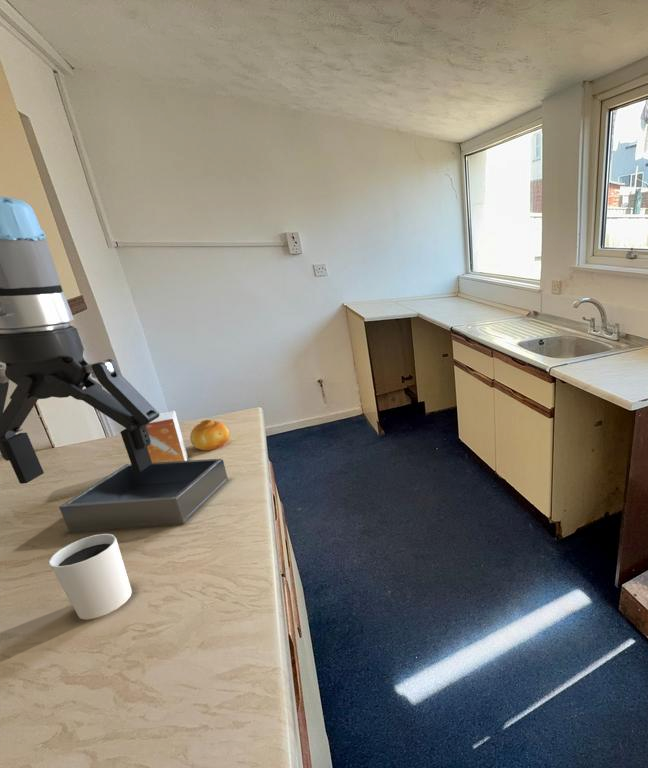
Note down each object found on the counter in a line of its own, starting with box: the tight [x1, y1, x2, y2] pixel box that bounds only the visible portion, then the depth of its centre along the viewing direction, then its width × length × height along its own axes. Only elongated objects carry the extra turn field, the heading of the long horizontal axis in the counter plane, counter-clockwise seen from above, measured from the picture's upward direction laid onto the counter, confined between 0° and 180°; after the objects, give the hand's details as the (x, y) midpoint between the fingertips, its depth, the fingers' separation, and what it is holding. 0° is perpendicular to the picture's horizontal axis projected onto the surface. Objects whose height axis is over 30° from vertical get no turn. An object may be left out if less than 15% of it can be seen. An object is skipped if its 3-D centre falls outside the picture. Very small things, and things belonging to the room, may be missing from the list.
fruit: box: [189, 419, 230, 451], centre depth 106 cm, size 8×8×8 cm
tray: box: [58, 458, 229, 534], centre depth 81 cm, size 20×16×6 cm
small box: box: [146, 410, 188, 463], centre depth 95 cm, size 8×6×13 cm
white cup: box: [48, 533, 133, 621], centre depth 58 cm, size 7×7×10 cm
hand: (89, 473), depth 57 cm, fingers open, 13 cm apart
